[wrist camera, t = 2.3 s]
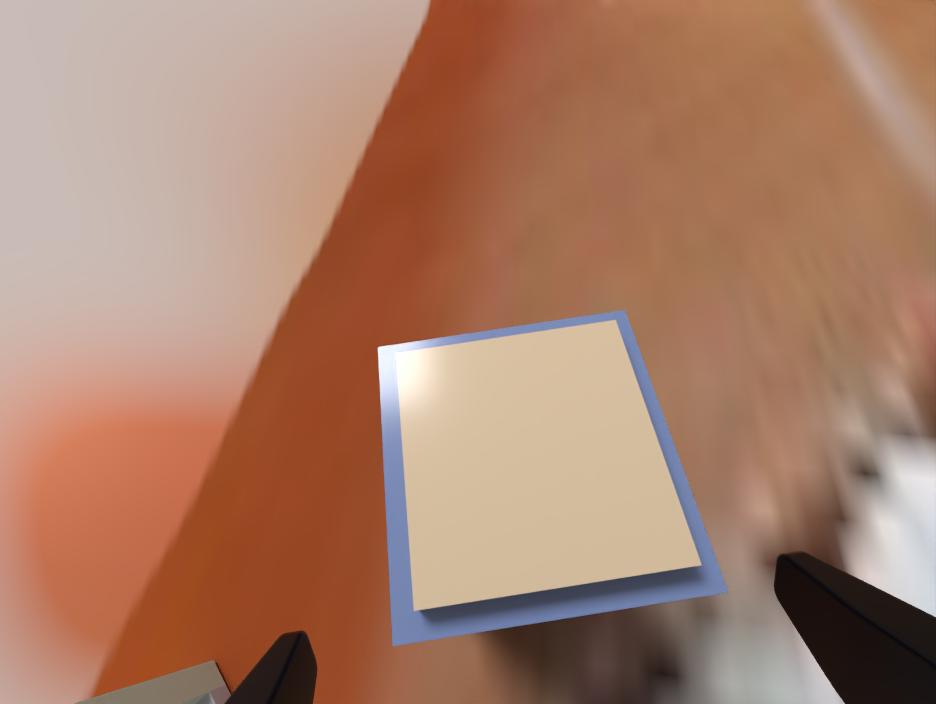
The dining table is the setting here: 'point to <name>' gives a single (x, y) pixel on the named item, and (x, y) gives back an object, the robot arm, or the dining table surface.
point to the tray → (173, 689)
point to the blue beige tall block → (532, 481)
